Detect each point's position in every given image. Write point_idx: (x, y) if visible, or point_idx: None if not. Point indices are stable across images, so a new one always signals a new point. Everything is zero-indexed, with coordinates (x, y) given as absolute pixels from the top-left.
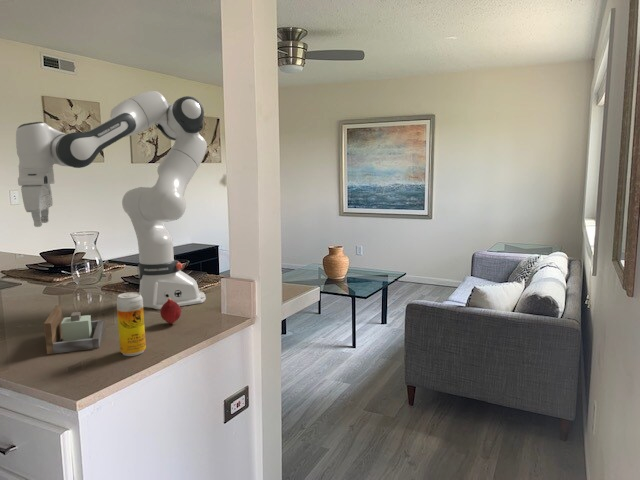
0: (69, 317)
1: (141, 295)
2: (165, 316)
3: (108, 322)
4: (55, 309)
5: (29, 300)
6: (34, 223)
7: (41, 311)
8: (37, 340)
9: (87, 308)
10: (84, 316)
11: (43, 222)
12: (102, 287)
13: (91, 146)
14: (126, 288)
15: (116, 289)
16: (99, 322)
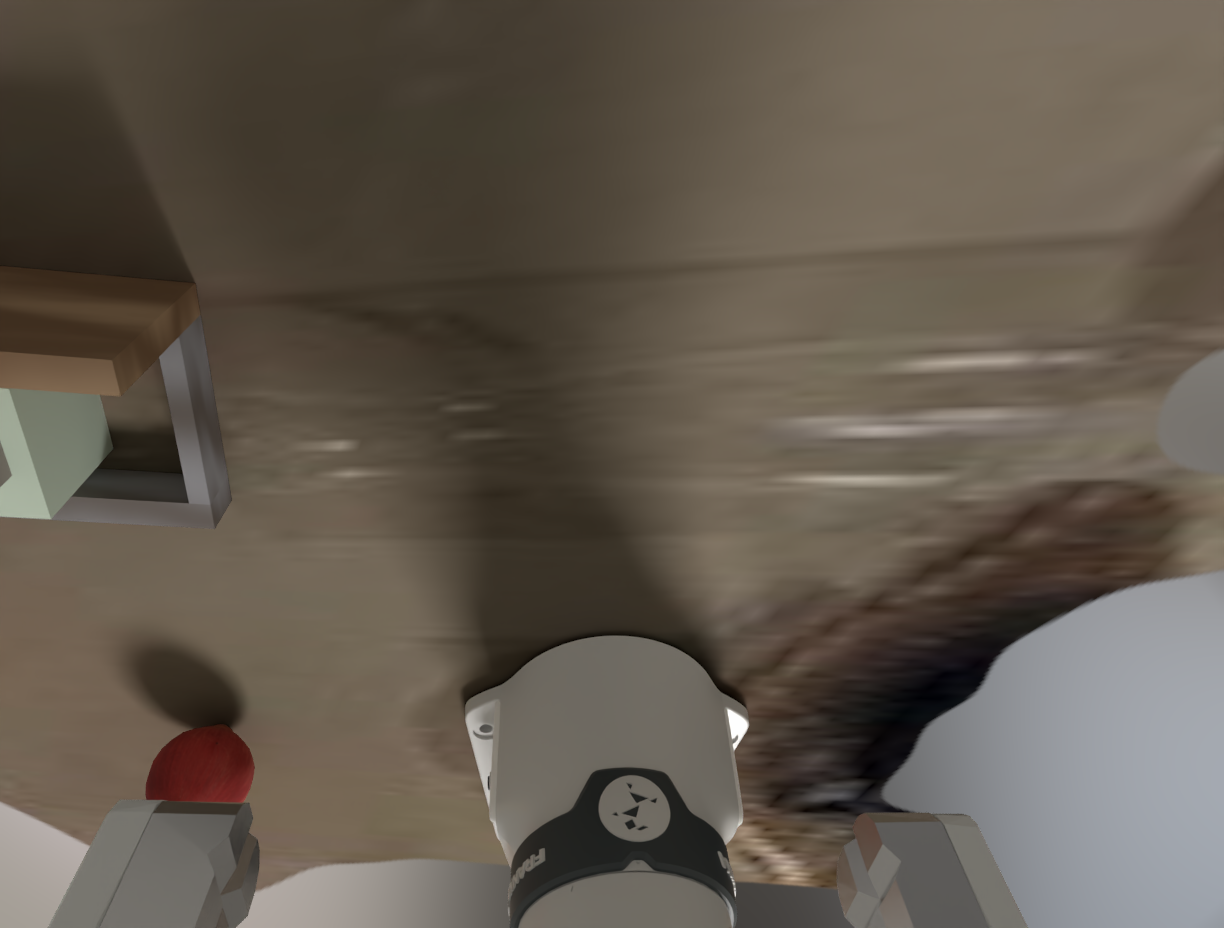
0: (10, 417)
1: (572, 694)
2: (159, 753)
3: (330, 515)
4: (3, 365)
5: (1165, 11)
6: (87, 868)
7: (757, 139)
8: (68, 171)
9: (669, 416)
10: (21, 492)
11: (859, 833)
12: (1132, 485)
13: None
14: (995, 596)
15: (1014, 552)
16: (165, 510)
